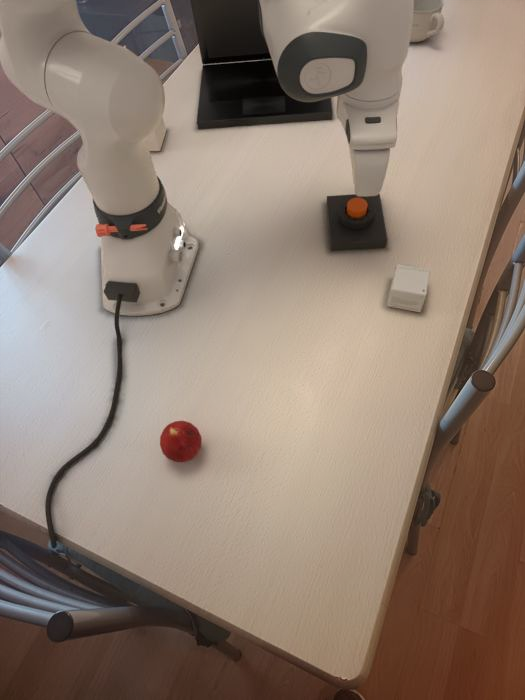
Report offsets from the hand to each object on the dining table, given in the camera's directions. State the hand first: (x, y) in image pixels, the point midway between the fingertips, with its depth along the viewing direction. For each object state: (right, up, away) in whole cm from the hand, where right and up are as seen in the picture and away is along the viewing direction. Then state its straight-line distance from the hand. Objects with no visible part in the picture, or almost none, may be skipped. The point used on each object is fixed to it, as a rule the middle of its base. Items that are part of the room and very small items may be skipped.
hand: (357, 179), depth 84 cm
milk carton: (-42, +18, +27) cm, 53 cm away
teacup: (+22, +48, +39) cm, 66 cm away
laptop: (-16, +31, +33) cm, 48 cm away
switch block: (+1, -5, +10) cm, 11 cm away
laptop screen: (-17, +47, +27) cm, 56 cm away
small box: (+8, -20, +1) cm, 22 cm away
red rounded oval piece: (-28, -44, -10) cm, 53 cm away
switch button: (+1, -4, +7) cm, 8 cm away
